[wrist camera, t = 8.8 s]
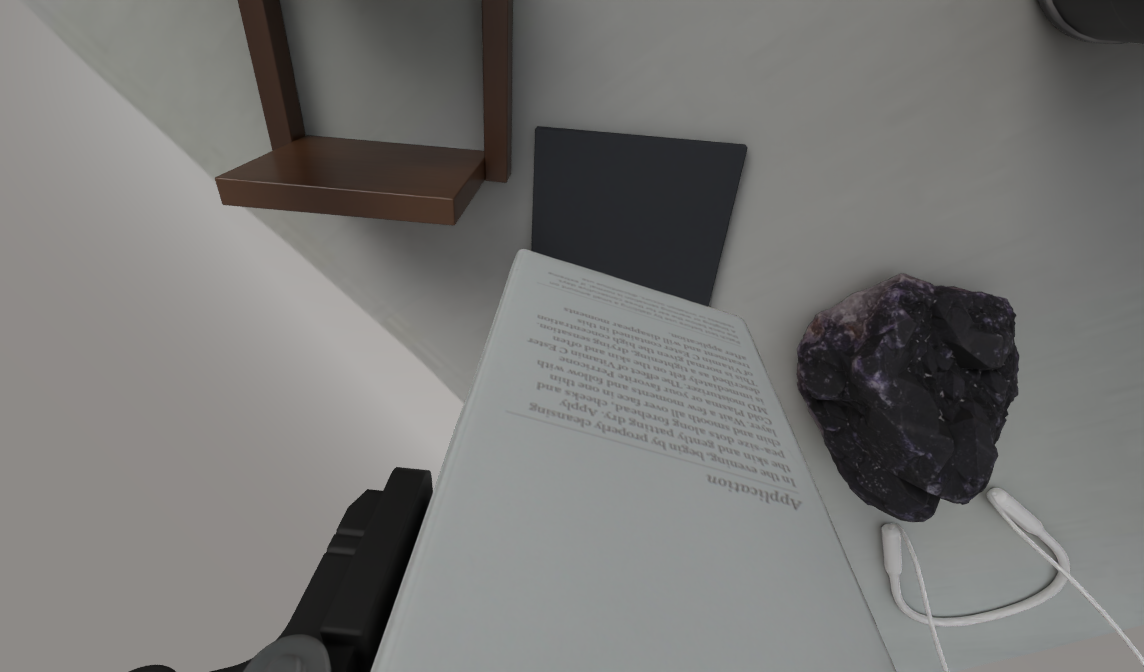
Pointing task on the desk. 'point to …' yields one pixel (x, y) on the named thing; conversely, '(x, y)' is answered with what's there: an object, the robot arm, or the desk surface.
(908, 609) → the earphone
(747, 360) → the small box
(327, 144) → the rack
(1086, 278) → the desk surface
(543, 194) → the mat
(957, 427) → the crystal cluster
